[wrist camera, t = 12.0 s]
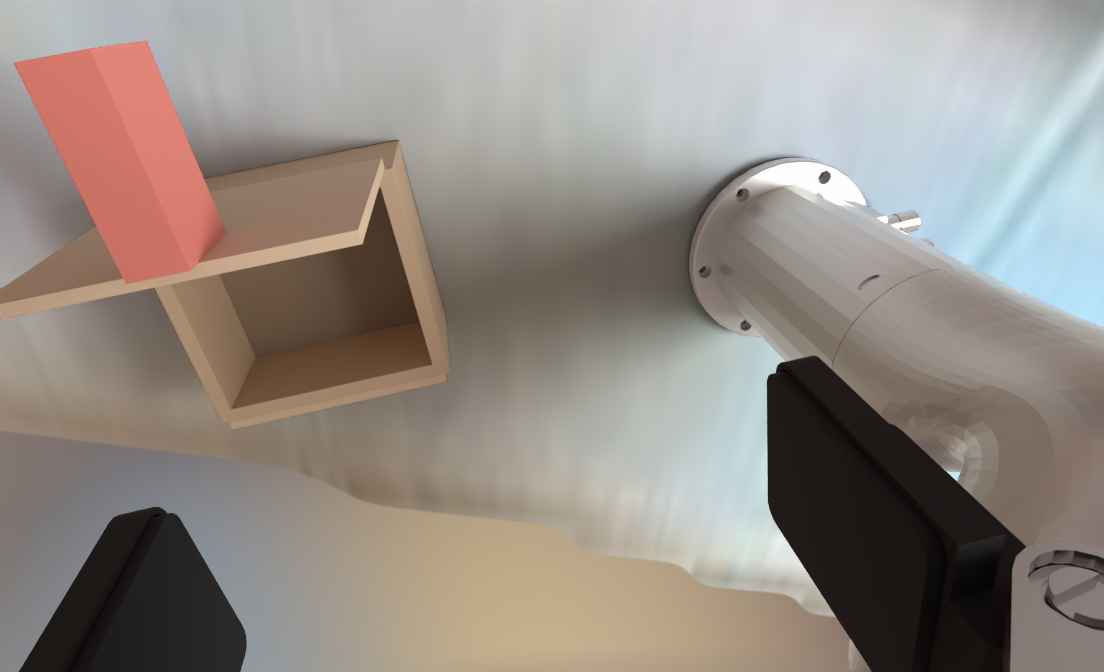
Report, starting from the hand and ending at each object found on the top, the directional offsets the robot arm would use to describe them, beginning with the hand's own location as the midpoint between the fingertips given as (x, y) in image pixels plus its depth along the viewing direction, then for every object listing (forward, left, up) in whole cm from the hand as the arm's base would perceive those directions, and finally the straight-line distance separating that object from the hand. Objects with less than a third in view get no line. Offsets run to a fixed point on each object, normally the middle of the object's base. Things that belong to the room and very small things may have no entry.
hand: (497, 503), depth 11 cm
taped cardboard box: (+9, 0, -19) cm, 21 cm away
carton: (+10, +6, -32) cm, 34 cm away
